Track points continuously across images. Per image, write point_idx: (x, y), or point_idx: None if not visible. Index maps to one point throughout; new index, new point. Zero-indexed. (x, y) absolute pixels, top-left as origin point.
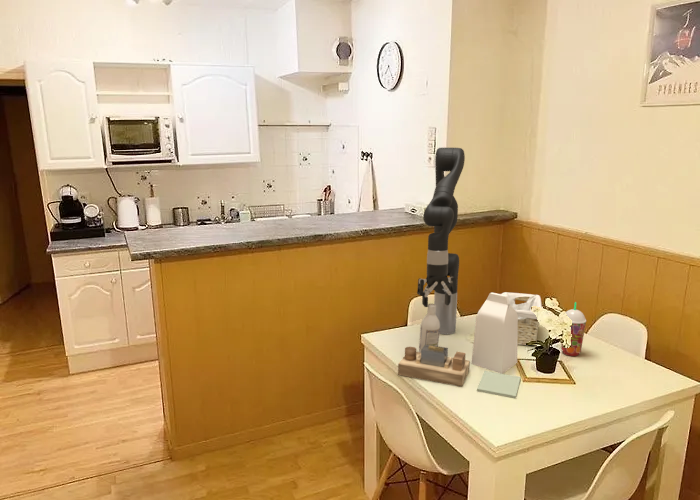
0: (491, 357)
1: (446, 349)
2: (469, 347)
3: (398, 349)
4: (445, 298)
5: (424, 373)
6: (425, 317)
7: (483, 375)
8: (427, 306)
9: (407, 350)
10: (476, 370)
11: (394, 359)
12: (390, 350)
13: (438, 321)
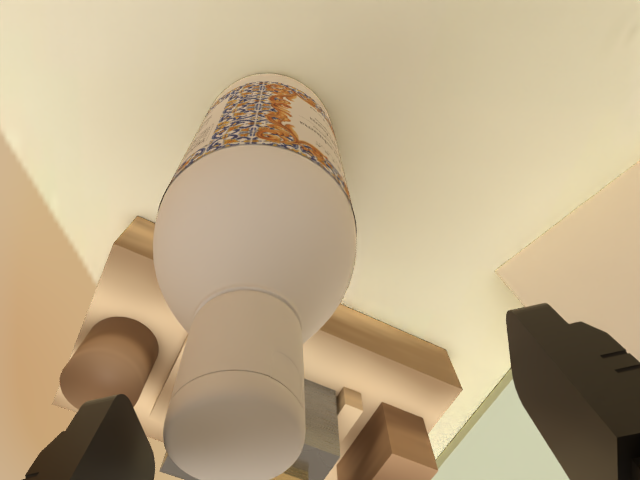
0: None
1: (325, 474)
2: (597, 31)
3: (65, 27)
4: (561, 391)
5: None
6: (177, 317)
7: (489, 412)
8: (150, 475)
9: (78, 405)
10: (486, 341)
11: (48, 190)
12: (5, 41)
13: (335, 309)
